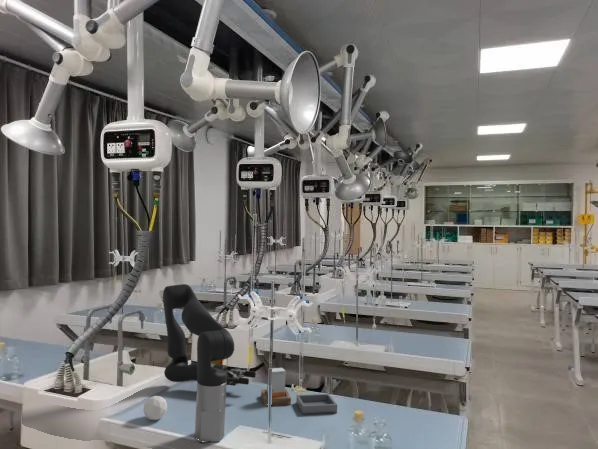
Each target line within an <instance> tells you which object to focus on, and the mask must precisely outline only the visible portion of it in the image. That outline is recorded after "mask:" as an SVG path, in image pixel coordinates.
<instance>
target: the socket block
mask: <svg viewBox="0 0 598 449" xmlns="http://www.w3.org/2000/svg"><path fill="white" fill-rule="evenodd" d="M260 396H261V400H262V402H263V405H264V406H265V407H267V404H268V397H267V389H261V391H260ZM291 402H292V398H291V396H290V394H289V392H288V390H287V388H285V395H284V396H283V397H272V407H274V406H291V405H292V403H291Z"/></svg>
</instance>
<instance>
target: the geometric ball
mask: <svg viewBox="0 0 598 449" xmlns="http://www.w3.org/2000/svg"><path fill="white" fill-rule="evenodd" d="M142 411H143V413H144V416H145V417H146V418H147V419H149V420H150V421H159V419H160V420H161V419H162V418H163V417H164V416H165V415H166V413H167V412H168V403H167V400H166V399H165V398H164V397H162V396H160V395H153V396H151V397H149V398H148V399H147V400H146V402H145V403H143V410H142Z"/></svg>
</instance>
